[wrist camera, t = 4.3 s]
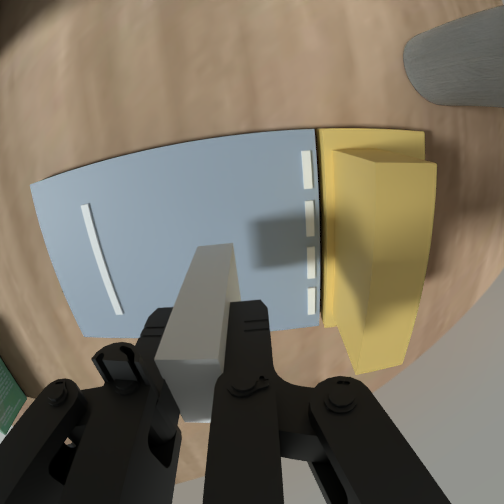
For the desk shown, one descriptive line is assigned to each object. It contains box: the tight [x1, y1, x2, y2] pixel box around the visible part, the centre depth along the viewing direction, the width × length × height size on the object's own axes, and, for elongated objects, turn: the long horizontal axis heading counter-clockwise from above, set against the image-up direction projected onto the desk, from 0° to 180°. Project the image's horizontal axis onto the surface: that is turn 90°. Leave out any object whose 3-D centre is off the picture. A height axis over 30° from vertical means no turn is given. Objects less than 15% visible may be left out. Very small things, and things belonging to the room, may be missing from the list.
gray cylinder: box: [403, 5, 504, 108], centre depth 6 cm, size 4×4×10 cm
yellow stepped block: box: [316, 128, 437, 375], centre depth 12 cm, size 11×6×6 cm, turn 6°
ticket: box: [30, 129, 320, 338], centre depth 15 cm, size 11×16×1 cm
